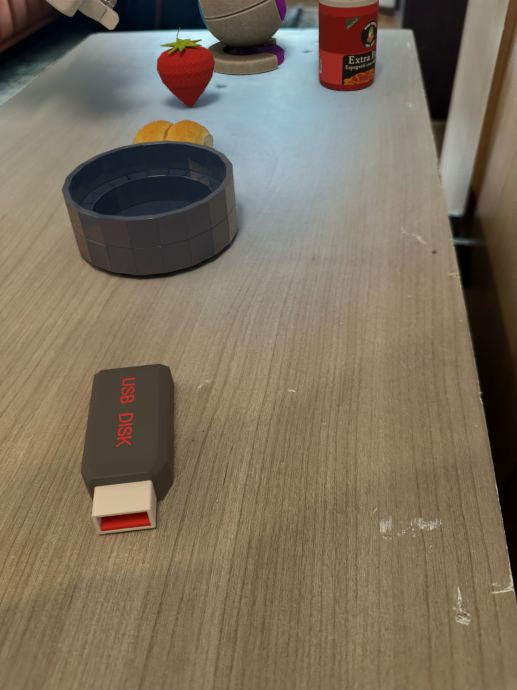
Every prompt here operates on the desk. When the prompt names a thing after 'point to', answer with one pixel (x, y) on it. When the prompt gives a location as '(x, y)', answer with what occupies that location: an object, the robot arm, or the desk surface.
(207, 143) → the bread roll
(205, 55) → the strawberry
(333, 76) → the canned food
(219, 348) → the desk surface
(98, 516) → the usb drive
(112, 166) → the bowl
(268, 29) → the webcam
